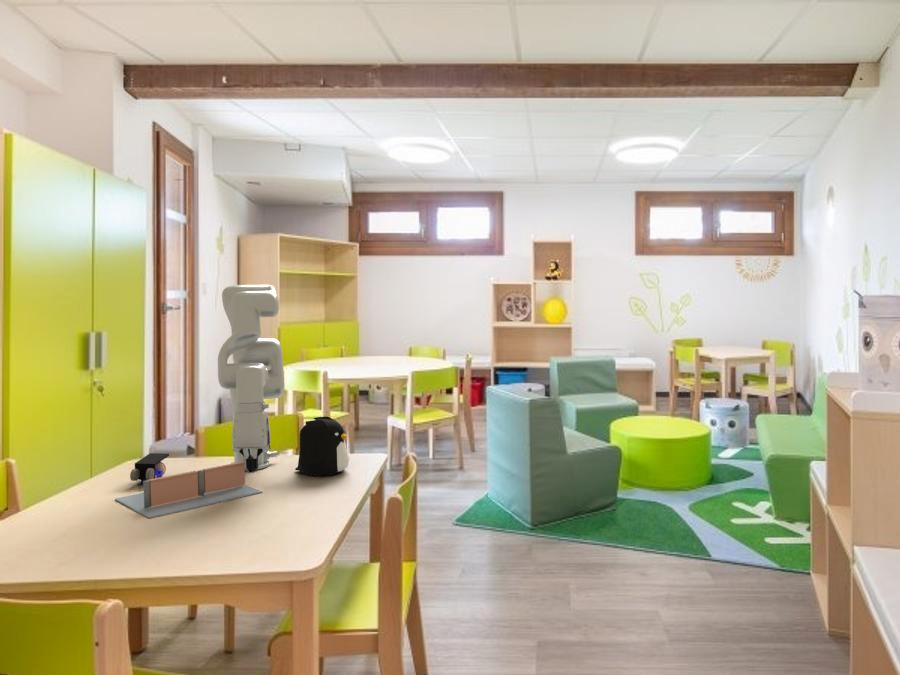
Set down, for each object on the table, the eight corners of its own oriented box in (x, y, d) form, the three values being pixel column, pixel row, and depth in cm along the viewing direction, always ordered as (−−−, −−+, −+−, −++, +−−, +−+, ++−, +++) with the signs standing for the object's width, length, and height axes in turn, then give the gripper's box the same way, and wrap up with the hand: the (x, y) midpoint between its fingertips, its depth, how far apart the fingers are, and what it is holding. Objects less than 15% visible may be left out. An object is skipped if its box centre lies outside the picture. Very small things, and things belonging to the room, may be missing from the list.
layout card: (222, 477, 220) (222, 476, 220) (262, 492, 203) (262, 490, 203) (114, 499, 198) (114, 498, 198) (149, 518, 181) (149, 516, 181)
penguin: (339, 480, 215) (338, 423, 214) (283, 478, 218) (282, 422, 217) (357, 466, 233) (356, 413, 232) (305, 464, 236) (304, 412, 235)
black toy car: (153, 492, 211) (171, 473, 226) (151, 467, 209) (169, 450, 224) (130, 492, 210) (150, 474, 225) (127, 468, 209) (148, 451, 224)
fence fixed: (202, 495, 201) (201, 469, 200) (205, 496, 200) (204, 470, 199) (143, 508, 189) (142, 480, 189) (145, 509, 188) (144, 481, 188)
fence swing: (206, 493, 200) (205, 470, 199) (203, 492, 201) (202, 469, 200) (245, 484, 208) (244, 462, 208) (242, 483, 209) (241, 461, 209)
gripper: (279, 405, 208) (281, 468, 208) (228, 407, 208) (230, 469, 209) (272, 409, 200) (274, 474, 201) (220, 410, 200) (222, 475, 201)
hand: (252, 471), depth 205 cm, fingers closed
